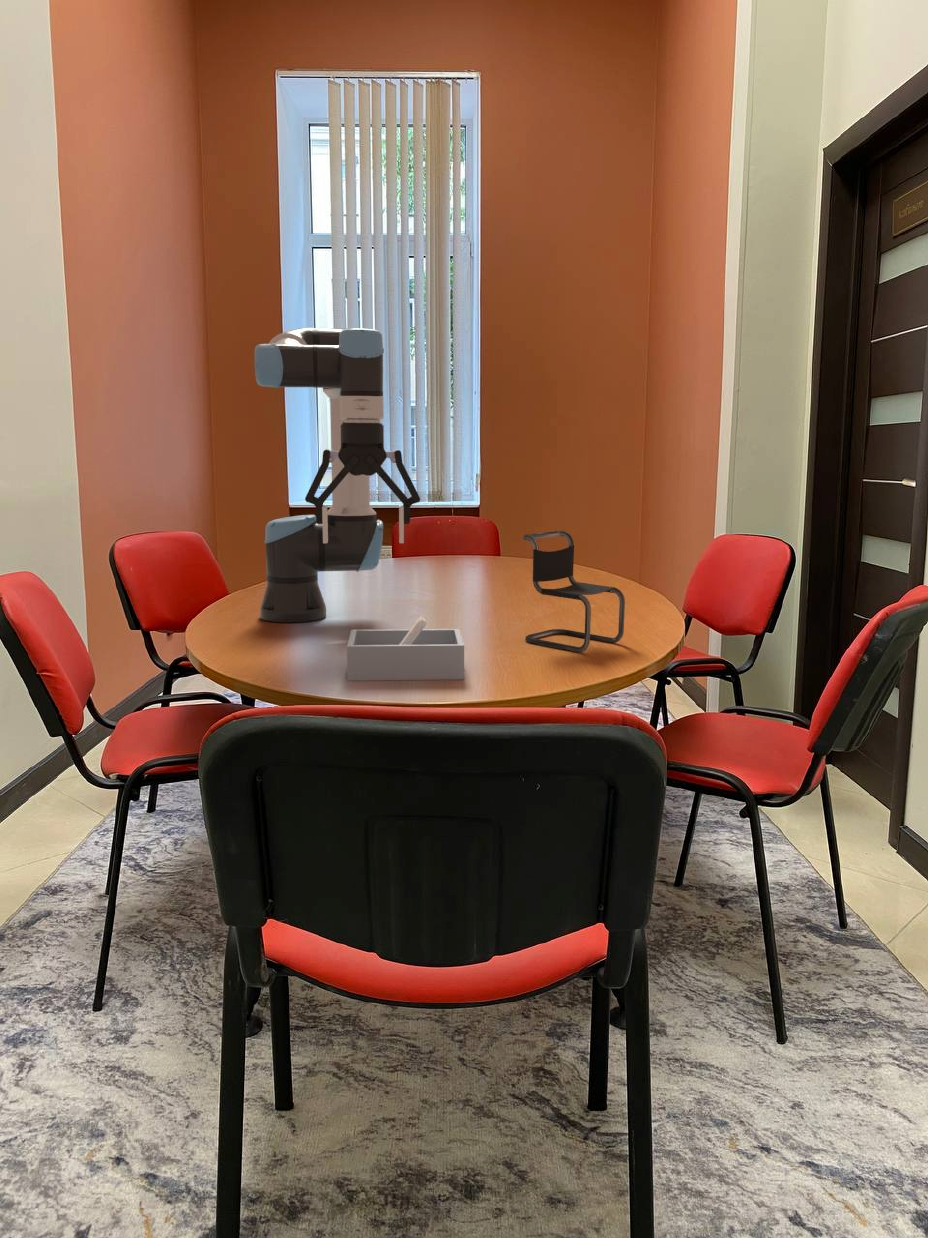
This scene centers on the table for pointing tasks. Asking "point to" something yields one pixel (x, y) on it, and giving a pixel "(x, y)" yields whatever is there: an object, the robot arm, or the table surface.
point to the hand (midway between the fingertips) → (363, 542)
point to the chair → (567, 590)
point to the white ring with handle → (414, 632)
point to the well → (405, 655)
